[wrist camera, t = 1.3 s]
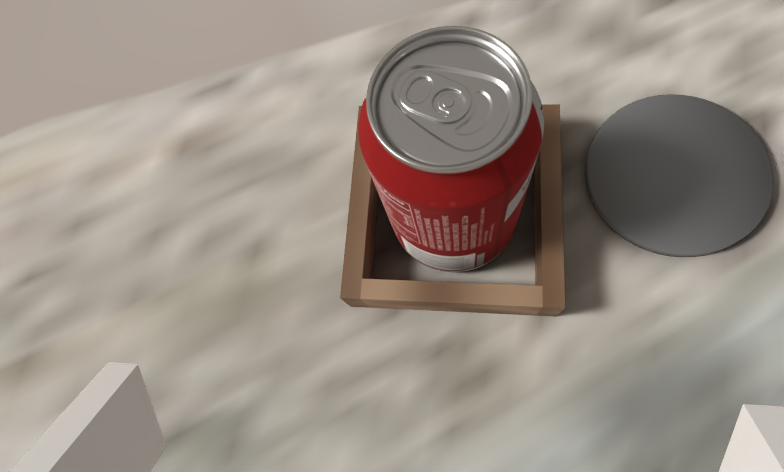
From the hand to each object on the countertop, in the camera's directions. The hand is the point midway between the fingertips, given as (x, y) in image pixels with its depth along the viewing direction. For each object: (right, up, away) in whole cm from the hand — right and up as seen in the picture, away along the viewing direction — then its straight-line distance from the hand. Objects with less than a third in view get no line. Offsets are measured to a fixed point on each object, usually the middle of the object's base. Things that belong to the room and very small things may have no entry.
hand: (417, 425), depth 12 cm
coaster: (+14, +8, +16) cm, 23 cm away
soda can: (+3, +5, +17) cm, 18 cm away
